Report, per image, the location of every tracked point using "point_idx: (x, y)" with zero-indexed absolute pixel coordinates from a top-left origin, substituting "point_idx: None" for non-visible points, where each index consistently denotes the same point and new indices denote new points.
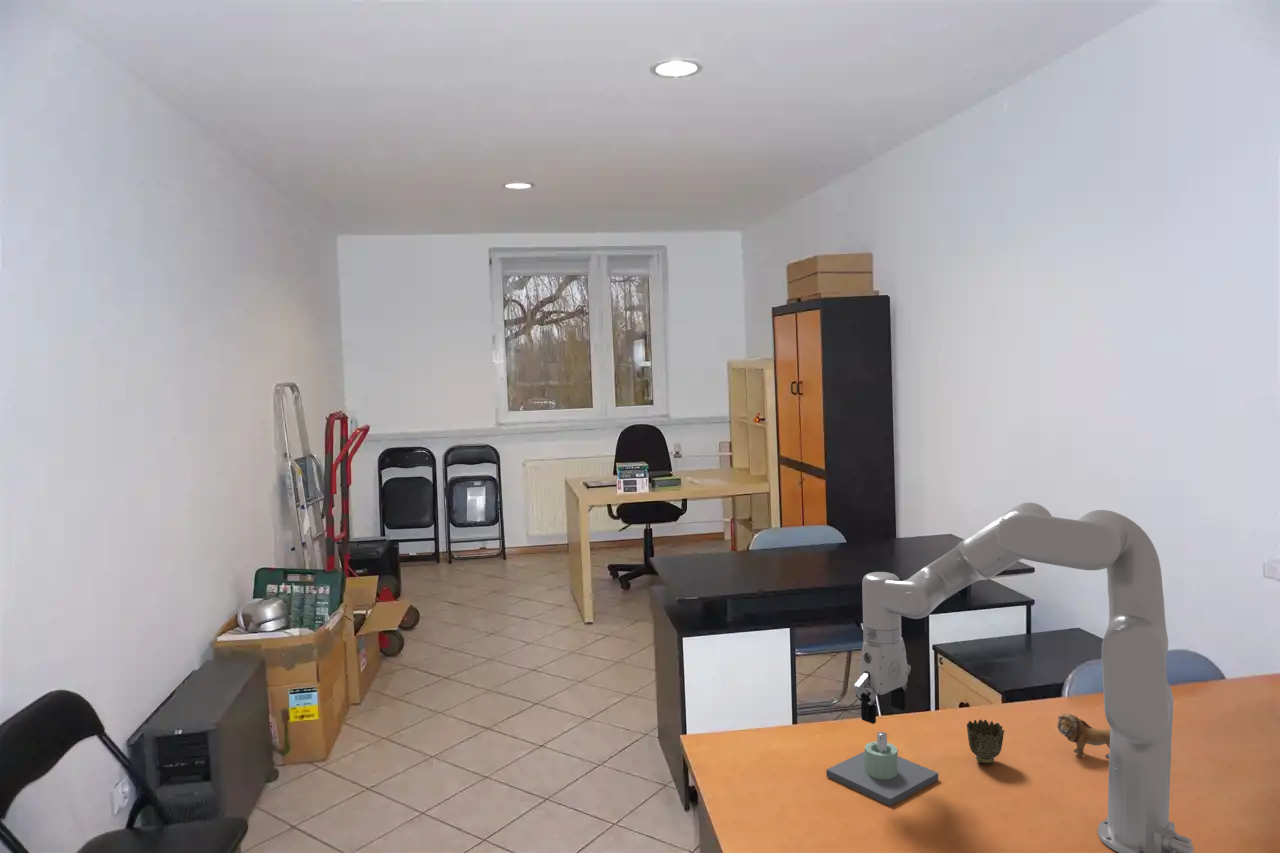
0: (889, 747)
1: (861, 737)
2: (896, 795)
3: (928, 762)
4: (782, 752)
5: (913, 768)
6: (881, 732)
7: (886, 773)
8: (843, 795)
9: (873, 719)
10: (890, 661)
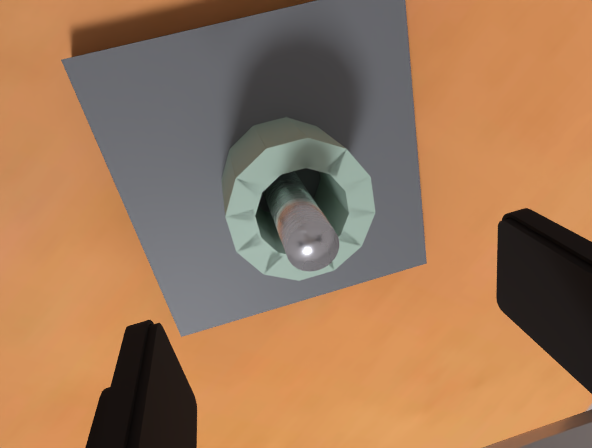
0: (255, 211)
1: None
2: None
3: (23, 198)
4: (415, 396)
5: (147, 146)
6: (300, 264)
7: (310, 126)
8: (458, 134)
9: (548, 224)
10: None
